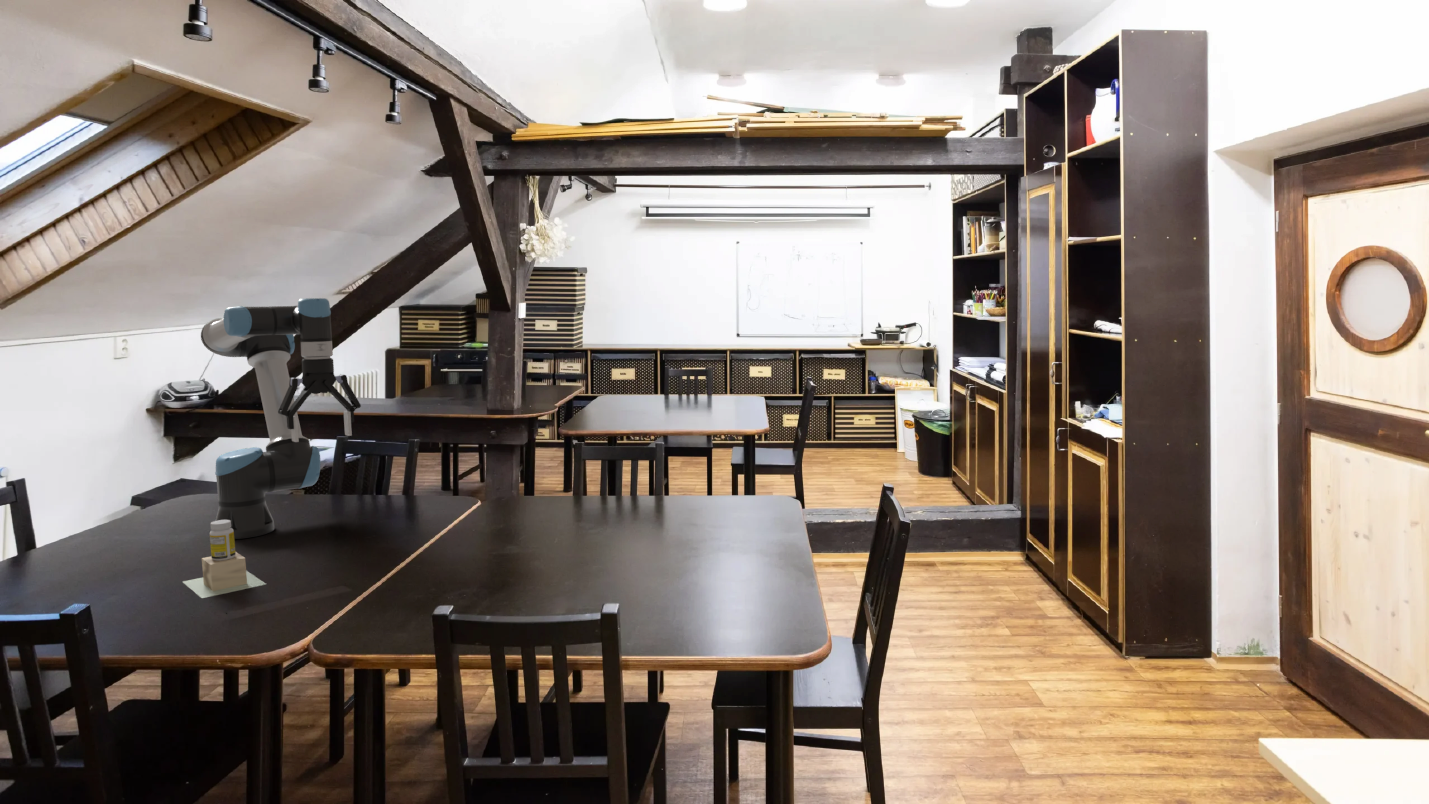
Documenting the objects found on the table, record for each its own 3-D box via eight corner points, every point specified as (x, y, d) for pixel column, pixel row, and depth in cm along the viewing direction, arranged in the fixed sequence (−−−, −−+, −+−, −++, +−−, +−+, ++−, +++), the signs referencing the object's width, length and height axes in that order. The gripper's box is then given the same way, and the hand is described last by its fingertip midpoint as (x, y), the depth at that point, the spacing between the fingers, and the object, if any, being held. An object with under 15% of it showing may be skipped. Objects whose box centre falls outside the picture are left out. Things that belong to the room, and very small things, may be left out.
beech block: (203, 583, 197) (201, 558, 196) (237, 576, 202) (235, 551, 201) (212, 591, 192) (210, 564, 191) (247, 583, 197) (245, 557, 196)
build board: (182, 586, 199) (182, 581, 199) (244, 573, 208) (244, 568, 208) (202, 603, 187) (201, 598, 187) (266, 589, 197) (266, 584, 196)
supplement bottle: (229, 553, 199) (226, 518, 198) (239, 557, 197) (237, 520, 196) (207, 559, 195) (204, 522, 194) (217, 562, 193) (214, 525, 192)
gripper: (271, 361, 215) (276, 445, 218) (370, 355, 232) (375, 434, 235) (261, 359, 220) (266, 442, 223) (359, 354, 238) (363, 431, 240)
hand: (322, 438), depth 229 cm, fingers open, 13 cm apart
